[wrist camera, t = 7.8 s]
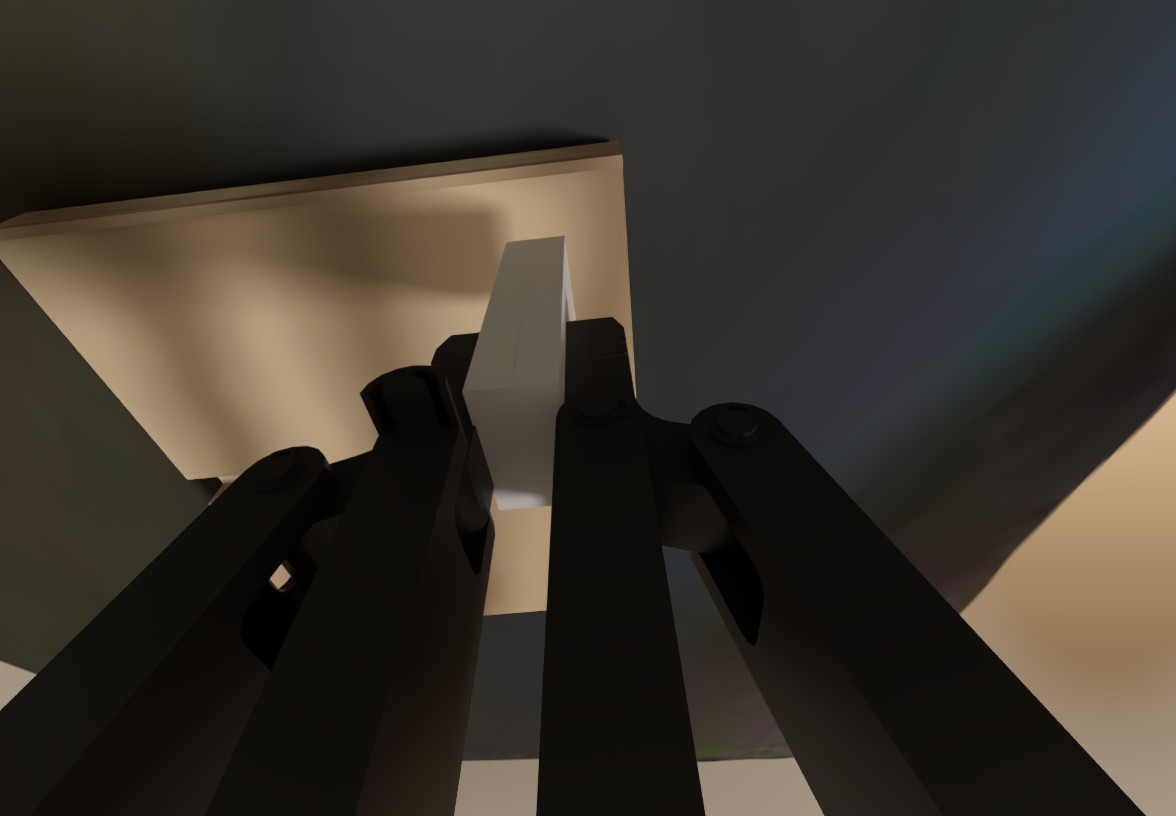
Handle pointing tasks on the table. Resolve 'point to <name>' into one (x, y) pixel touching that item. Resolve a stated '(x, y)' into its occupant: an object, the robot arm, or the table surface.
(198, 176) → the table surface
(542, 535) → the laid board
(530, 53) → the table surface
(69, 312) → the loose plank
